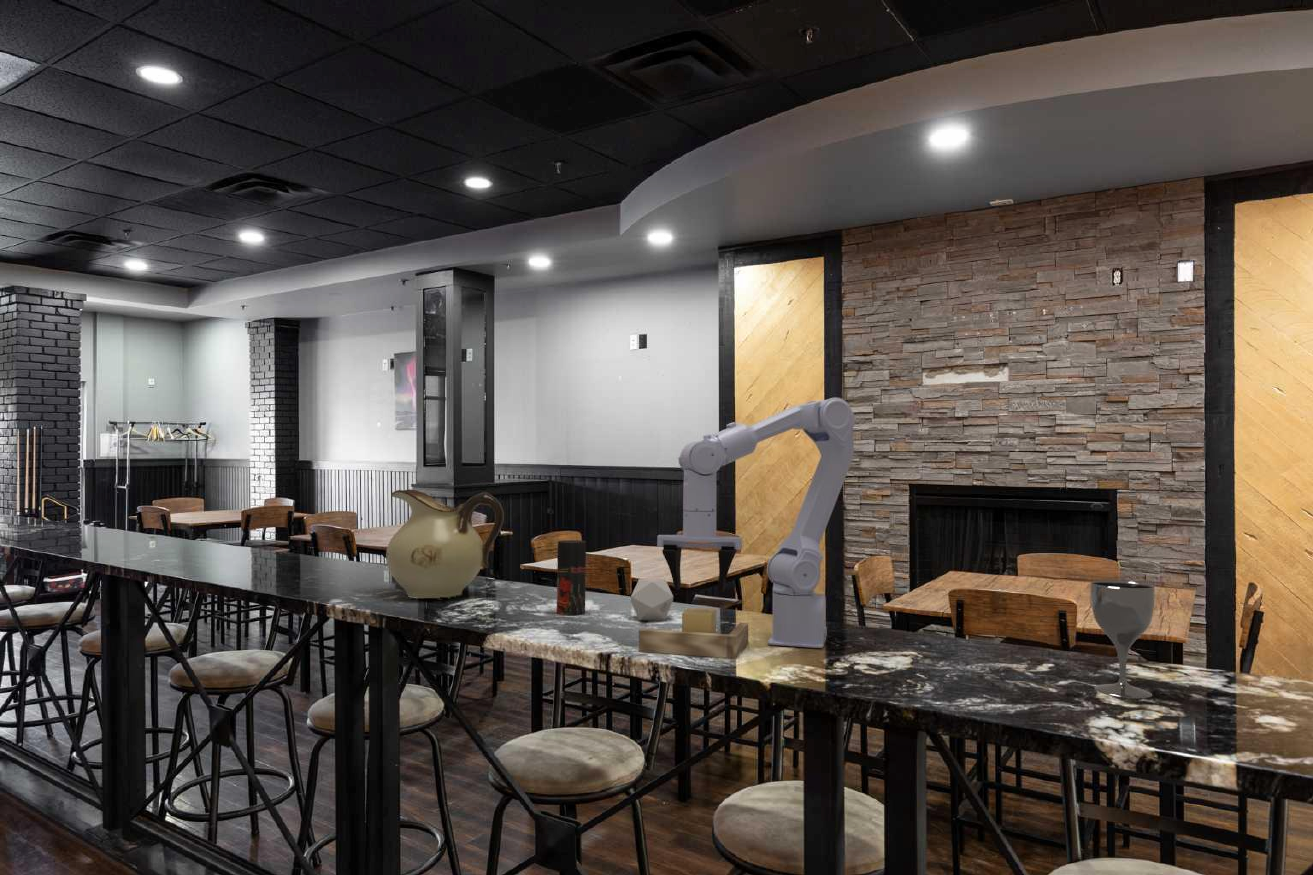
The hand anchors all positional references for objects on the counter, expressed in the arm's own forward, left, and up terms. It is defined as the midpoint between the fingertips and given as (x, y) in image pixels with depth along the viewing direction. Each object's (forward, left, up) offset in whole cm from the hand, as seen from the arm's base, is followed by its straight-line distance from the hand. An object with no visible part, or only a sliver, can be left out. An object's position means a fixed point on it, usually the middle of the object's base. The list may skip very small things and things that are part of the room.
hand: (699, 590), depth 141 cm
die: (+15, -23, -10) cm, 30 cm away
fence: (+1, 0, -10) cm, 10 cm away
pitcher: (+71, -35, -10) cm, 80 cm away
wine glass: (-63, +9, -10) cm, 64 cm away
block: (0, 0, -10) cm, 10 cm away
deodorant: (+33, -24, -10) cm, 42 cm away
